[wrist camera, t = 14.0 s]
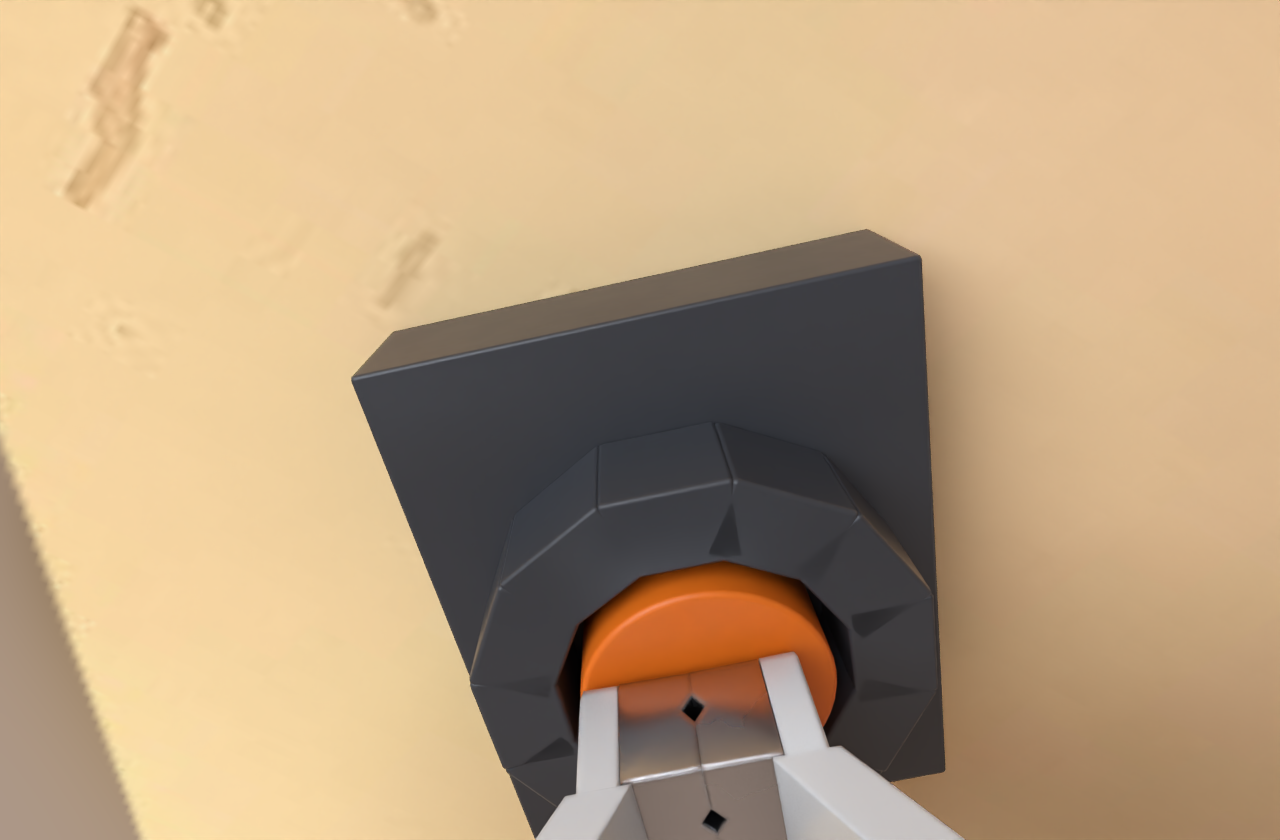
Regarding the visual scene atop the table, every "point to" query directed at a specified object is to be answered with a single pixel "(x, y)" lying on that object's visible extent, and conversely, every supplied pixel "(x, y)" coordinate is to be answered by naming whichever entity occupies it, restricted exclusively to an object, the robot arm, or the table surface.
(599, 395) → the button box
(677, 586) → the button
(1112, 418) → the table surface
